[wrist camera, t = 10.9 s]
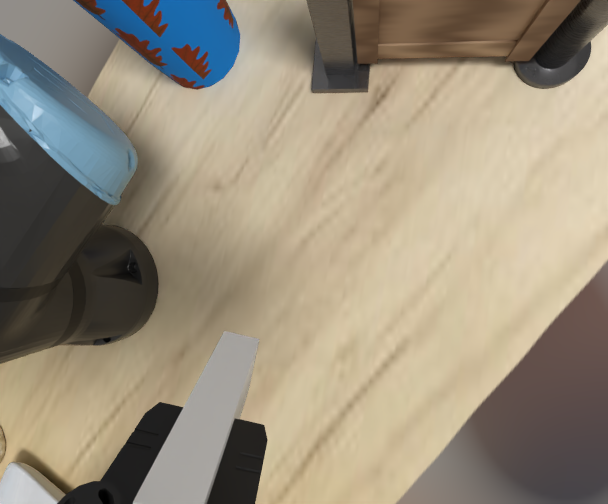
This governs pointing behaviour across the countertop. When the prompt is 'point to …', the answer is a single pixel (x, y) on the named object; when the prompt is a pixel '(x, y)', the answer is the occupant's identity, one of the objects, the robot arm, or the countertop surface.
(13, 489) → the salad plate
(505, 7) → the walnut gate
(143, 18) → the thermos
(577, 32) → the hinge post
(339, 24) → the post
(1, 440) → the hand bell
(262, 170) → the countertop surface
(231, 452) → the robot arm
